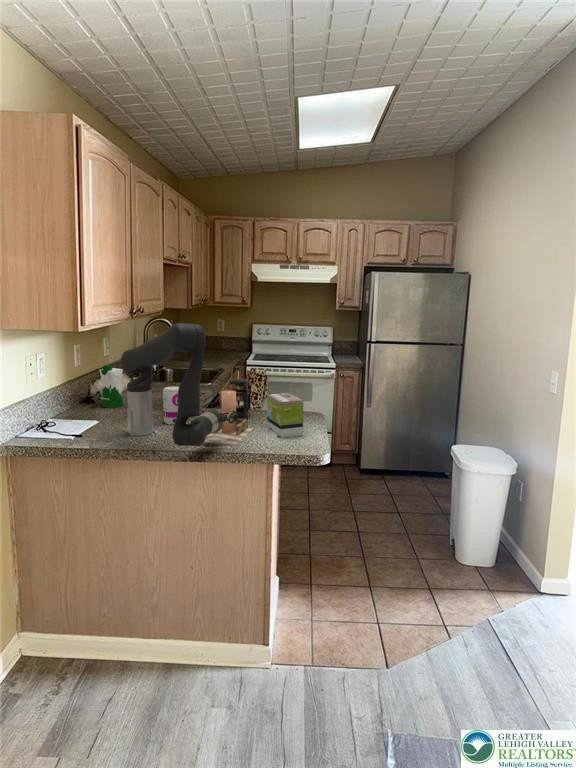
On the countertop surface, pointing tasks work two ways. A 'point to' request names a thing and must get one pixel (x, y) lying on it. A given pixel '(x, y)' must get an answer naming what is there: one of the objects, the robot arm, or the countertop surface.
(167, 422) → the supplement can
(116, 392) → the milk carton
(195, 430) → the robot arm
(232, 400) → the dome-topped peach cylinder
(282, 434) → the tea box
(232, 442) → the dock
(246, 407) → the french press
